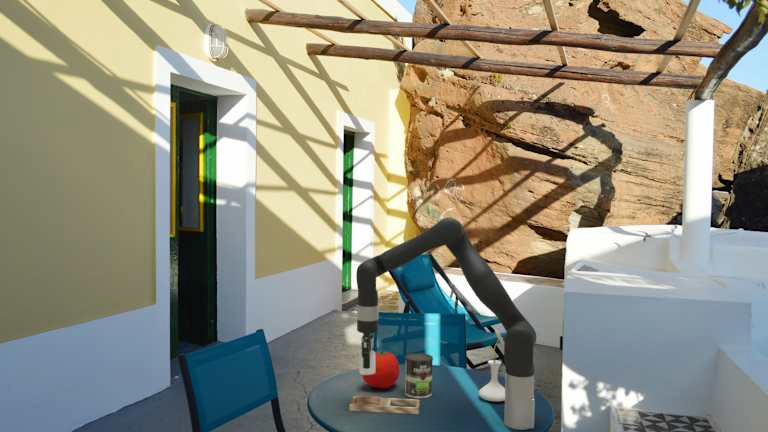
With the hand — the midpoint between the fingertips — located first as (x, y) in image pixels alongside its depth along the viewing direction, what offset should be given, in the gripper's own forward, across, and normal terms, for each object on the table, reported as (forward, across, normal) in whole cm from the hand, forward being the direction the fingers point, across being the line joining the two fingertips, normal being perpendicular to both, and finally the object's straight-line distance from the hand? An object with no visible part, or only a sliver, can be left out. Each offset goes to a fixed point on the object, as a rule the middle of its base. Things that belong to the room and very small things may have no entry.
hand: (367, 365), depth 213 cm
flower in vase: (+15, +15, -45) cm, 50 cm away
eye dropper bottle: (+3, 0, 0) cm, 3 cm away
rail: (+15, 0, -6) cm, 16 cm away
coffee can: (+15, +16, -17) cm, 28 cm away
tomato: (+15, +21, -2) cm, 26 cm away
